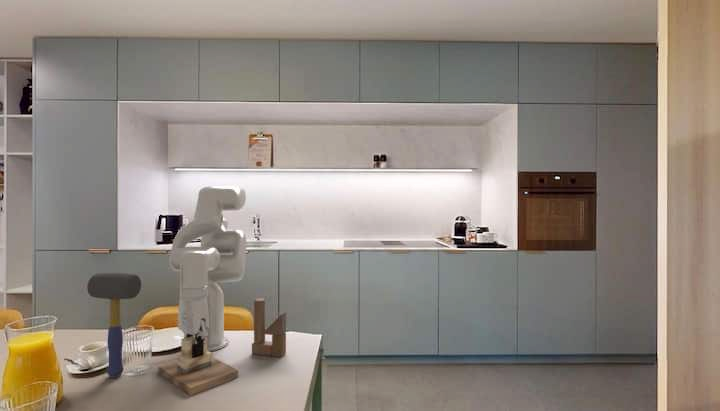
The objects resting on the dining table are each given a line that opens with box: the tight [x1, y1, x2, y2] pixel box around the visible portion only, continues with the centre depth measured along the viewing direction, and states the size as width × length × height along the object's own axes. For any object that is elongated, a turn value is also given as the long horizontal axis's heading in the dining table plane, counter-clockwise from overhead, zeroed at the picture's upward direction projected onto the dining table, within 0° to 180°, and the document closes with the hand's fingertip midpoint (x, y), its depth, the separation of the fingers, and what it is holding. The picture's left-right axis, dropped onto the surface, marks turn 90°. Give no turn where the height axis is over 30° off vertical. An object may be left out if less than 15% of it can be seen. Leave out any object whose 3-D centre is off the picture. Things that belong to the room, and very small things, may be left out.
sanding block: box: [176, 335, 213, 374], centre depth 115 cm, size 8×5×9 cm, turn 140°
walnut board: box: [157, 356, 239, 396], centre depth 115 cm, size 20×14×2 cm
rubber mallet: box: [86, 272, 142, 378], centre depth 113 cm, size 12×8×30 cm, turn 84°
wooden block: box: [251, 297, 287, 358], centre depth 130 cm, size 4×11×18 cm, turn 78°
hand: (194, 354), depth 115 cm, fingers closed on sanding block, 3 cm apart
